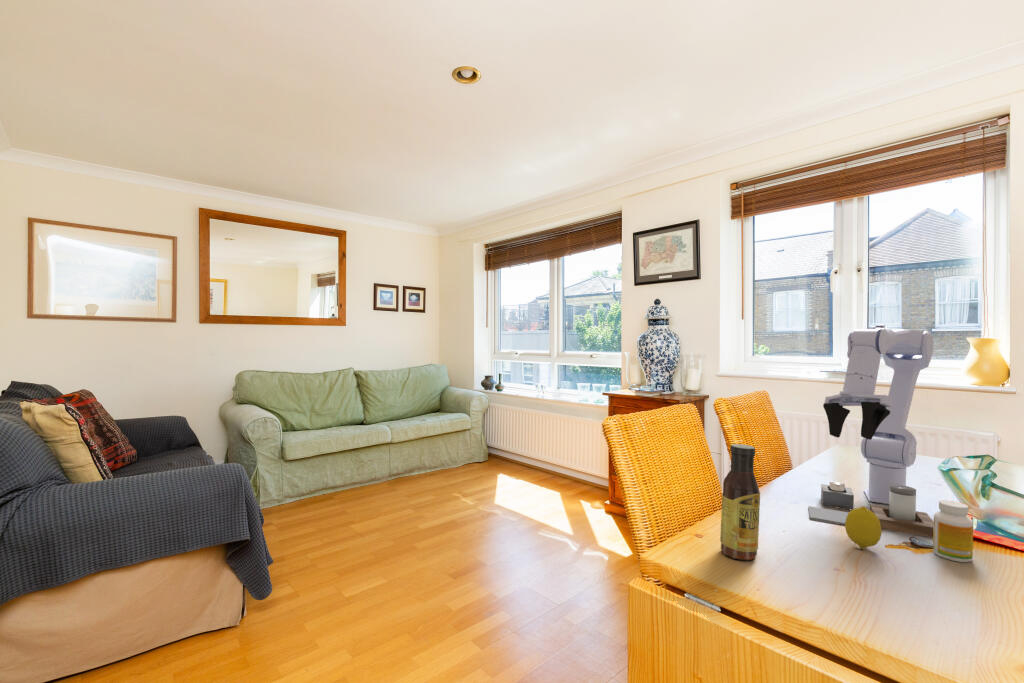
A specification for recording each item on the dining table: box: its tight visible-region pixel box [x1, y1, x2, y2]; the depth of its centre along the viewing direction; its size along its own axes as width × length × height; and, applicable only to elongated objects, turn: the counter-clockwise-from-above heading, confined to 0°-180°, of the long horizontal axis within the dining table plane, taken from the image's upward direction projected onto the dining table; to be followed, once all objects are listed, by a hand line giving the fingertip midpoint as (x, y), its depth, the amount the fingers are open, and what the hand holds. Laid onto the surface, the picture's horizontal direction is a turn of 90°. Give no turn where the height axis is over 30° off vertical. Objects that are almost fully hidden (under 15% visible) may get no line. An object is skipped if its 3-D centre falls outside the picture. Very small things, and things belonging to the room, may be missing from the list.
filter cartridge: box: [888, 485, 917, 522], centre depth 103 cm, size 4×4×8 cm
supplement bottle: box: [932, 500, 974, 563], centre depth 88 cm, size 5×5×10 cm
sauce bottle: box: [719, 443, 761, 561], centre depth 88 cm, size 7×6×20 cm
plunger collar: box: [820, 484, 855, 511], centre depth 115 cm, size 6×6×4 cm
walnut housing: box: [869, 503, 934, 538], centre depth 103 cm, size 10×10×2 cm
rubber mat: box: [808, 505, 849, 526], centre depth 107 cm, size 8×8×1 cm
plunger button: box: [829, 480, 846, 493], centre depth 115 cm, size 3×3×3 cm
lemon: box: [844, 505, 882, 550], centre depth 91 cm, size 6×6×8 cm
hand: (849, 437), depth 105 cm, fingers open, 7 cm apart
